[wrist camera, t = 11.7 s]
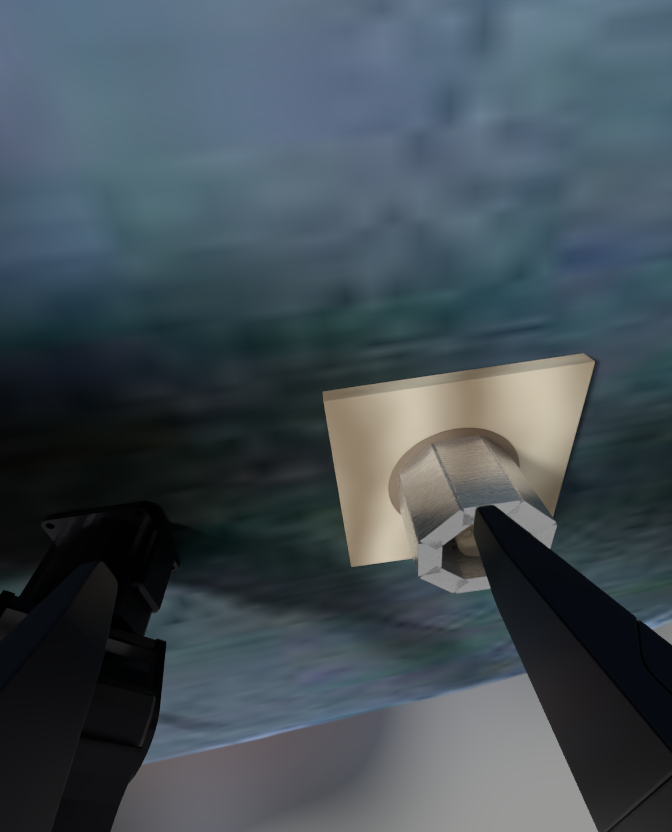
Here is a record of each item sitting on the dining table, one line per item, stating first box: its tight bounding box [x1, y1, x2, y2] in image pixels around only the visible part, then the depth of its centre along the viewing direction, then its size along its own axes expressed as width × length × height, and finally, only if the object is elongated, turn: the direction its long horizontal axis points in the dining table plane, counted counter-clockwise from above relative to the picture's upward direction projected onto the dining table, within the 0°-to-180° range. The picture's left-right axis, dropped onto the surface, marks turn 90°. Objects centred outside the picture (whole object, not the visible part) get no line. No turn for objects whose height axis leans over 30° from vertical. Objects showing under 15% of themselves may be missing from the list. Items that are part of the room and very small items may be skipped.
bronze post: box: [454, 524, 480, 556], centre depth 22 cm, size 2×2×4 cm
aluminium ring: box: [397, 435, 557, 593], centre depth 22 cm, size 7×7×5 cm
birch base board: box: [323, 353, 595, 567], centre depth 25 cm, size 14×14×1 cm
